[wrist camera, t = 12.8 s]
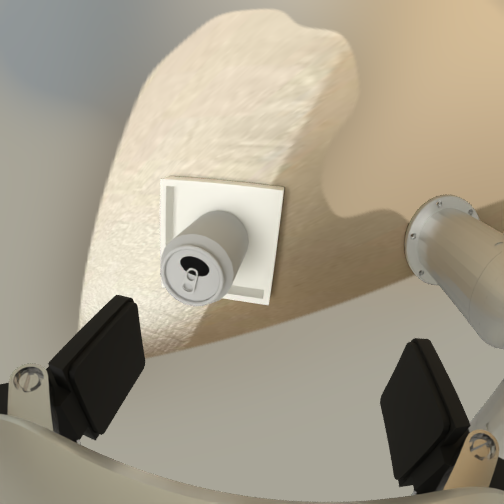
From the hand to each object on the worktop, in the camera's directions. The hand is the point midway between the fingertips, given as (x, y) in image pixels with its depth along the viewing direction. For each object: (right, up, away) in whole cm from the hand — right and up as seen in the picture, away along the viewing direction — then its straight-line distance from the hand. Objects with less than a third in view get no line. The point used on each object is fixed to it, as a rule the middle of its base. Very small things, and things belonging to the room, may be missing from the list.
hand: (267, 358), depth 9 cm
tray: (-5, +6, +29) cm, 30 cm away
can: (-4, +5, +29) cm, 30 cm away
